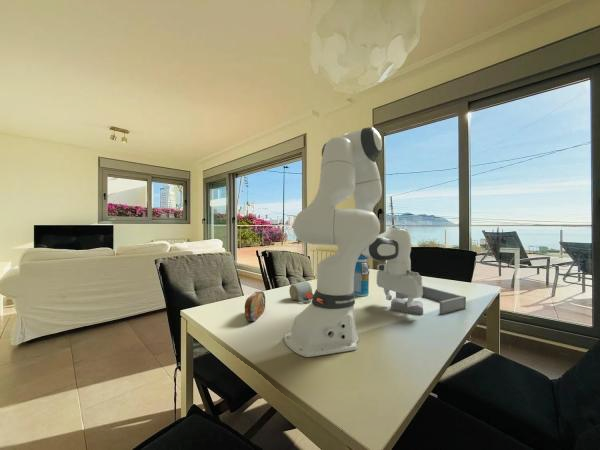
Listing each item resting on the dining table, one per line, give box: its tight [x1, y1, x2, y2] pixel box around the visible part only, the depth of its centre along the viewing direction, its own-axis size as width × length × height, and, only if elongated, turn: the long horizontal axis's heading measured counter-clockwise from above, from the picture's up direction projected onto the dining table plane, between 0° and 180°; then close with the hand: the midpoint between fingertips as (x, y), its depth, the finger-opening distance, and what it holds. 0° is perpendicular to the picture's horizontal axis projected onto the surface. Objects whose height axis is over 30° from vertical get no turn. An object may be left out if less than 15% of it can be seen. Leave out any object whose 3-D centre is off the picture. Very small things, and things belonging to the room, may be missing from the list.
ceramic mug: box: [288, 280, 313, 304], centre depth 117 cm, size 11×8×8 cm
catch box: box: [395, 285, 467, 315], centre depth 114 cm, size 15×22×4 cm
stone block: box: [390, 296, 424, 315], centre depth 106 cm, size 12×5×10 cm
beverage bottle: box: [353, 255, 370, 297], centre depth 127 cm, size 8×8×20 cm
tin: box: [244, 291, 266, 322], centre depth 97 cm, size 15×3×8 cm, turn 168°
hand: (397, 303), depth 105 cm, fingers open, 8 cm apart
